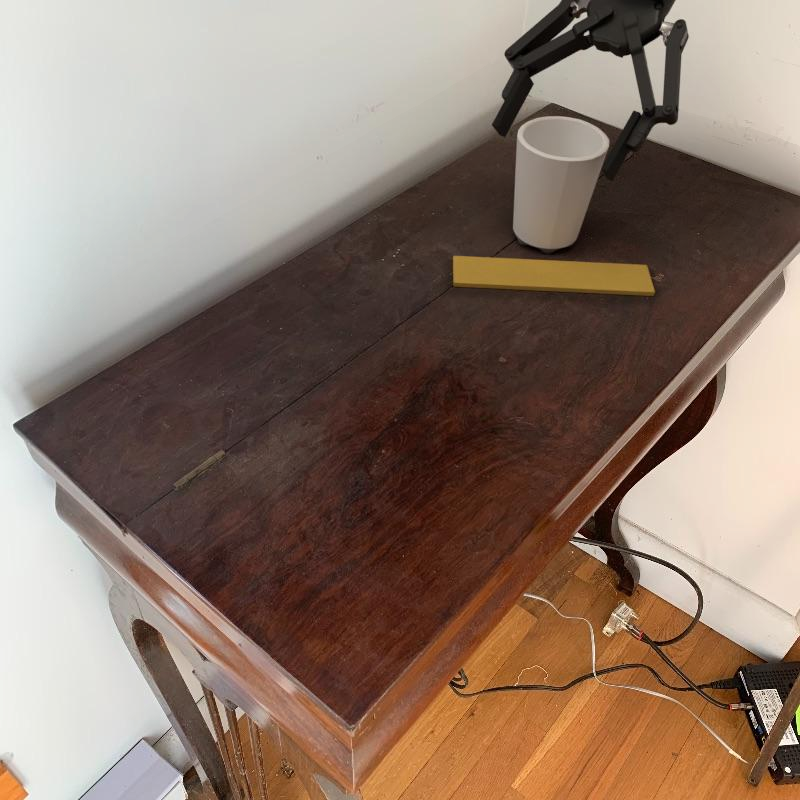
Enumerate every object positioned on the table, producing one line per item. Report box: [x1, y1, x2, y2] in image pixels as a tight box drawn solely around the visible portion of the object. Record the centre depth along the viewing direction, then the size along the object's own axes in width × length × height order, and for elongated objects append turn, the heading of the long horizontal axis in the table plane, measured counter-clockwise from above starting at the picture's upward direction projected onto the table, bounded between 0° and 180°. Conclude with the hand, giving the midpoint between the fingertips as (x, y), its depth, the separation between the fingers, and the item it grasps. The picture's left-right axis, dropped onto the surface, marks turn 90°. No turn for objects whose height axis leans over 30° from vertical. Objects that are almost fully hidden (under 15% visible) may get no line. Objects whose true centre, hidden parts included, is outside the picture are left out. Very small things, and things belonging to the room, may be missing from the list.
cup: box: [512, 115, 610, 254], centre depth 91 cm, size 10×10×13 cm
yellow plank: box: [452, 255, 656, 297], centre depth 89 cm, size 22×5×1 cm, turn 88°
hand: (550, 152), depth 85 cm, fingers open, 13 cm apart
